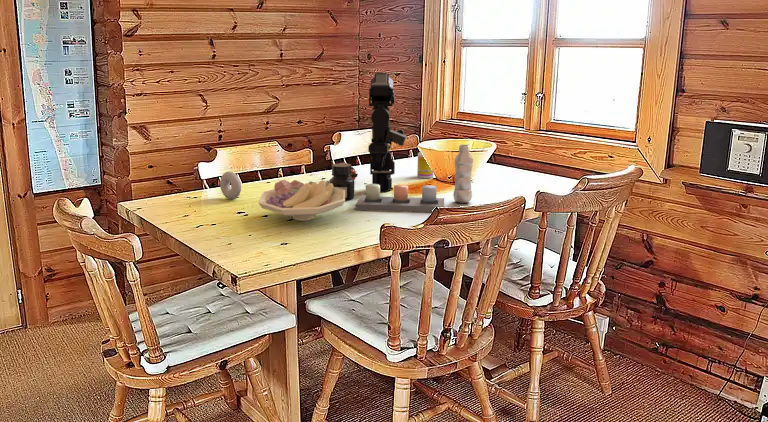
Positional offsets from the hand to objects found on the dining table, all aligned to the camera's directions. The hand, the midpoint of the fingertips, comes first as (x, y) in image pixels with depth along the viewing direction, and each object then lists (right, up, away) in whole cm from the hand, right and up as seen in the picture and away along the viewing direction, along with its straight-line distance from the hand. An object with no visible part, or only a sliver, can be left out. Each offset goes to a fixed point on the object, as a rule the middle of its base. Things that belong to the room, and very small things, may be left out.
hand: (380, 169), depth 229 cm
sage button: (-3, -10, +2) cm, 10 cm away
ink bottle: (-14, -10, +13) cm, 21 cm away
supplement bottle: (+18, 0, +50) cm, 53 cm away
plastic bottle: (+28, -11, +8) cm, 32 cm away
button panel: (+7, -13, +1) cm, 14 cm away
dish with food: (-24, -16, -13) cm, 32 cm away
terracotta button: (+7, -10, +1) cm, 12 cm away
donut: (-53, -10, +11) cm, 55 cm away
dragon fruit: (-14, -3, +39) cm, 42 cm away
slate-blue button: (+16, -10, 0) cm, 19 cm away
